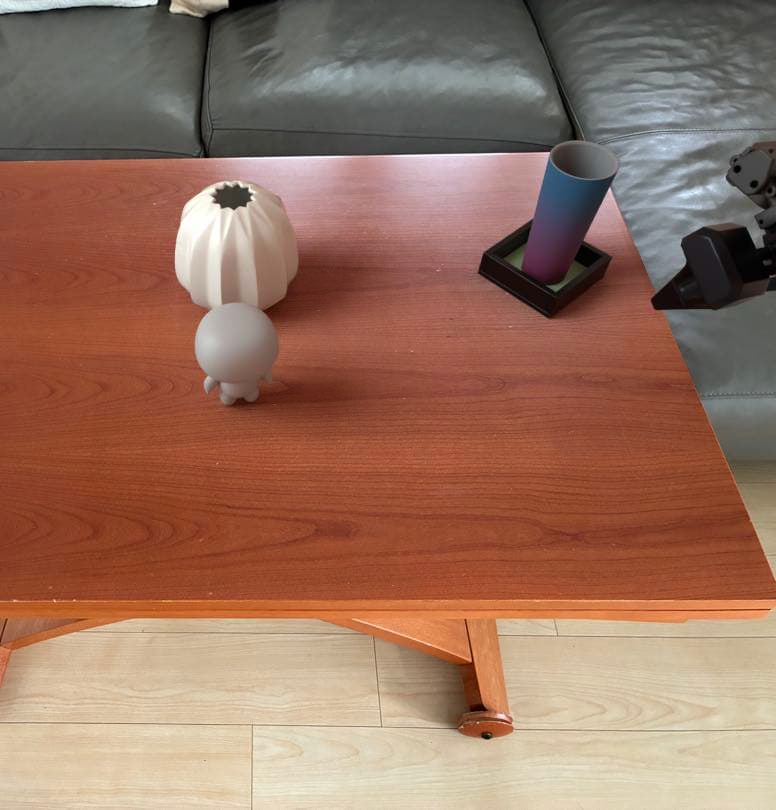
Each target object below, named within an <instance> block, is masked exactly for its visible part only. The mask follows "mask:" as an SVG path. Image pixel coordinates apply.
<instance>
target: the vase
mask: <svg viewBox="0 0 776 810" xmlns="http://www.w3.org/2000/svg"><path fill="white" fill-rule="evenodd" d="M179 224H180V225H179V228H178V230H177V236H176V241H175V251H174V268H175V275H176V278H177V281H178V283H179V284H180V285H181V286H182V287H183V288H184V289H185V290H186V291H187V292H188V293H189V295H190V298H191V301H192V303H193V304H195V305H197V306H199V307H201V308H203V309H204V310H207V311H208V312H209V311H211V310H212V309H214V308H216V307H218V306H220V305H224V304H228V303H247V304H251V305H253V306H255V307H257V308H259V309H260V310H261V311H263V312H264V311H266V310H267V309H269V308H271V307H272V306H274V305H275V304H277V303H278V302H280V301H281V300H283V299H284V298H286V296H287V290H288V286H289V285H290V284H291V282H292V281H293V280H294V279H295V277H296V276H297V273H298V268H299V257H300V256H299V250H298V243H297V239H296V233H295V230H294V226H293V224H292V221H291V220H290V218H289V216H288V213H287V209H286V206H285V204H284V202H283V200H282V198H281V197H280V196H279V195H277V194H275V193H273V192H272V191H271V190H268V189H266V188H264V187H263V186H262V185H260V184H258V183H256V182H252V181H249V180H240V179H234V180H224V181H219V182H215V183H213V184H211V185H209V186H206V187H204V188H203V189H202V190H201V191H200V193H197V195H195V196H193V197H192V198H191V199H189V200H188V201H187V202H186V203H185V205H184V207H183V209H182V212H181V217H180V223H179Z"/></svg>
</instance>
